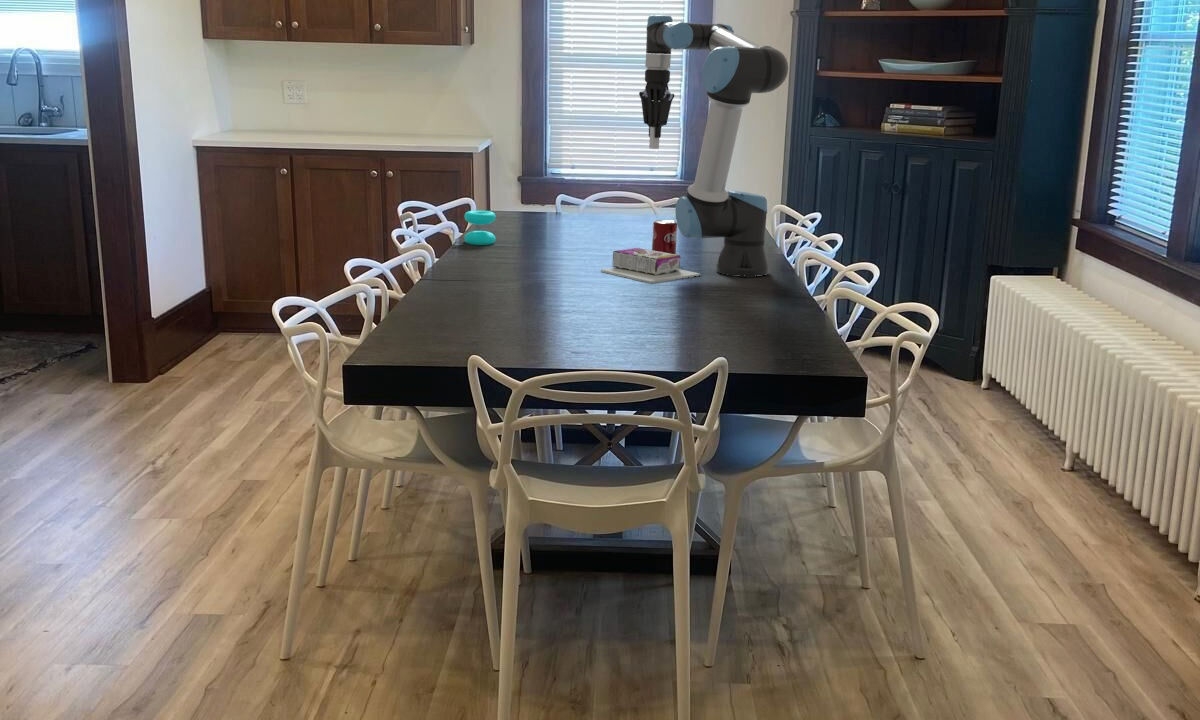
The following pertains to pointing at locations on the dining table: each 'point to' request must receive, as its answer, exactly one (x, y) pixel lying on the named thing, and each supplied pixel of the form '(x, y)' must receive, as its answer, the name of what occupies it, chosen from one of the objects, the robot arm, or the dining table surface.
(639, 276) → the mat
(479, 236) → the donuts
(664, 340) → the dining table surface
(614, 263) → the candy bar box
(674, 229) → the soda can
